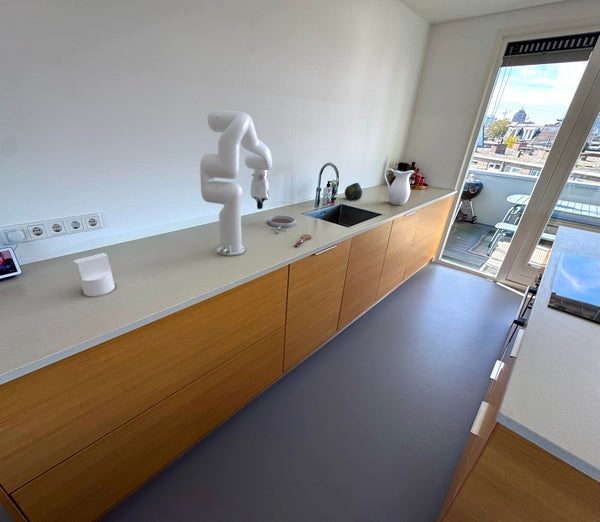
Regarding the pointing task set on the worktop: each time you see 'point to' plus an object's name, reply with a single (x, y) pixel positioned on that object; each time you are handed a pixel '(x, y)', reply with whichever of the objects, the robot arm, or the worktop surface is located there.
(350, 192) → the squash
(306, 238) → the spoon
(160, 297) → the worktop surface
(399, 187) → the pitcher
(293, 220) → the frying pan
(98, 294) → the cylinder with rectangular tab
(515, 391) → the worktop surface
